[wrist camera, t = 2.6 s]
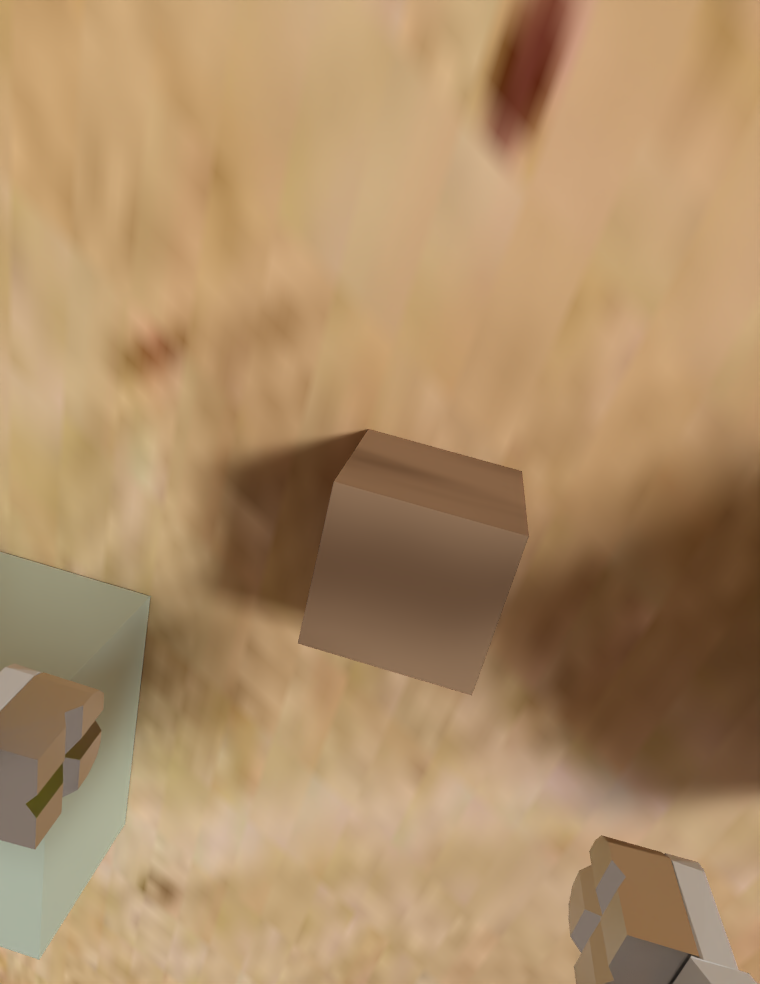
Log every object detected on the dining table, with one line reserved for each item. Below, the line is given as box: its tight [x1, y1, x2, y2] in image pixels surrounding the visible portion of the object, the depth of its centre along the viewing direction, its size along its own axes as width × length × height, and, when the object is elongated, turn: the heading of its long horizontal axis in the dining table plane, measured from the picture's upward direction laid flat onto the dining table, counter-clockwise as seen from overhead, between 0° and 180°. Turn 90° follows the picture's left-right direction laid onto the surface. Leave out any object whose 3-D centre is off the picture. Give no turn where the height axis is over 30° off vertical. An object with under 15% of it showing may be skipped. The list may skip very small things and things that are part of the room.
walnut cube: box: [298, 429, 529, 695], centre depth 20 cm, size 5×5×5 cm
